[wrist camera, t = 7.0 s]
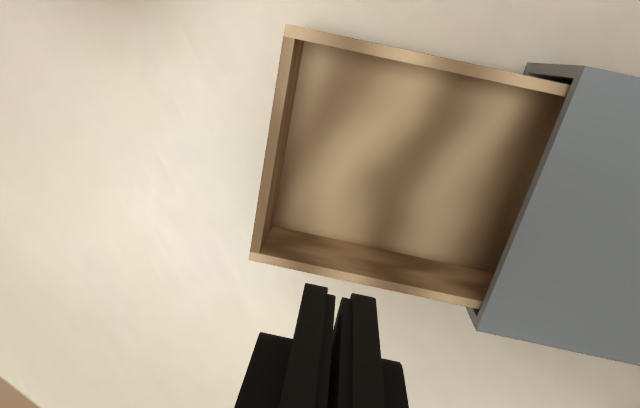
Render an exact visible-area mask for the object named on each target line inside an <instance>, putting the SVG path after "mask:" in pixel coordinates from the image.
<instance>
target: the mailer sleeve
mask: <svg viewBox="0 0 640 408" xmlns="http://www.w3.org/2000/svg"><path fill="white" fill-rule="evenodd" d="M523 75H526V76H530V77H535V78H540V79H544V80H549V81H554V82H558V83H563V84H568V85H571V87H570V89H569V92H568V94H567V96H566V99H565V101H564V104H563V106H562V109H561V111H560V114H559V116H558V119H557V121H556V123H555V126H554V128H553V131H552V133H551V136H550V138H549V141H548V143H547V146H546V148H545V151H544V153H543V155H542V158H541V160H540V163H539V165H538V168H537V170H536V173H535V175H534V178H533V180H532V183H531V185H530V187H529V190H528V192H527V195H526V197H525V200H524V202H523V205H522V207H521V210H520V212H519V214H518V217H517V219H516V222H515V224H514V227H513V229H512V232H511V234H510V237H509V239H508V242H507V244H506V246H505V249H504V251H503V254H502V256H501V259H500V261H499V264H498V266H497V269H496V271H495V273H494V276H493V278H492V281H491V283H490V286H489V288H488V291H487V293H486V296H485V298H484V301H483V303H482V305H481V308H480V309H475V308H471V307H466V309H467V311H468V313H469V315H470V318H471V320H472V322H473V324H474V327H475V329H476V331H480V332H485V333H489V334H494V335H499V336H503V337H508V338H513V339H517V340H522V341H527V342H531V343H536V344H541V345H545V346H550V347H555V348H559V349H564V350H568V351H573V352H578V353H582V354H587V355H592V356H596V357H601V358H606V359H610V360H615V361H620V362H624V363H629V364H634V365H638V366H640V78H639V77H634V76H629V75H625V74H620V73H615V72H611V71H606V70H601V69H597V68H592V67H588V66H576V65H558V64H541V63H527V66H526V69H525V72H524V74H523Z"/></svg>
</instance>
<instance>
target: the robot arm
mask: <svg viewBox="0 0 640 408" xmlns="http://www.w3.org/2000/svg"><path fill="white" fill-rule="evenodd" d="M327 291H328V288H327V287H322V286H317V285H313V284H308V283H305V287H304V292H303V296H302V301H301V305H300V310H299V315H298V319H297V324H296V328H295V333H294V338H293V339H290V338H285V337H281V336H276V335H272V334H267V333H262V332H260V334H259V336H258V339H257V342H256V345H255V348H254V351H253V354H252V357H251V360H250V363H249V366H248V369H247V372H246V375H245V378H244V380H243V383H242V386H241V389H240V392H239V395H238V398H237V401H236V404H235V407H234V408H409V406H408V399H407V393H406V386H405V380H404V374H403V368H402V365H401V363H400V362H396V361H391V360H387V359H382V358H381V352H380V341H379V330H378V319H377V308H376V299H375V298H373V297H368V296H364V295H359V294H354V293H352V294H351V297H350V299H348V298H343V297H342V299H341V302H340V306H339V310H338V314H337V318H336V322H335V326H334V329H333V323H334V310H335V296H334V295H330V294H327Z"/></svg>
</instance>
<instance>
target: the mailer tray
mask: <svg viewBox="0 0 640 408" xmlns="http://www.w3.org/2000/svg"><path fill="white" fill-rule="evenodd" d="M570 87H571V85H568V84H563V83H558V82H554V81H549V80H544V79H540V78H535V77H530V76H526V75H521V74H516V73H512V72H507V71H502V70H498V69H493V68H488V67H484V66H479V65H474V64H470V63H465V62H460V61H456V60H451V59H447V58H442V57H437V56H433V55H428V54H423V53H419V52H414V51H409V50H405V49H400V48H395V47H391V46H386V45H381V44H377V43H372V42H367V41H363V40H358V39H353V38H349V37H344V36H339V35H335V34H330V33H325V32H321V31H316V30H311V29H307V28H302V27H297V26H293V25H288V24H285V30H284V37H283V43H282V50H281V56H280V62H279V69H278V75H277V82H276V88H275V95H274V101H273V107H272V114H271V120H270V127H269V133H268V140H267V146H266V152H265V159H264V165H263V172H262V178H261V185H260V191H259V197H258V204H257V210H256V217H255V223H254V230H253V236H252V242H251V249H250V255H249V260H252V261H256V262H261V263H266V264H270V265H275V266H280V267H284V268H289V269H294V270H298V271H303V272H308V273H312V274H317V275H322V276H326V277H331V278H335V279H340V280H345V281H349V282H354V283H359V284H363V285H368V286H373V287H377V288H382V289H387V290H391V291H396V292H401V293H405V294H410V295H415V296H419V297H424V298H429V299H433V300H438V301H443V302H447V303H452V304H457V305H461V306H466V307H471V308H475V309H480V308H481V305H482V303H483V301H484V298H485V296H486V293H487V291H488V288H489V286H490V283H491V281H492V278H493V276H494V273H495V271H496V269H497V266H498V264H499V261H500V259H501V256H502V254H503V251H504V249H505V246H506V244H507V242H508V239H509V237H510V234H511V232H512V229H513V227H514V224H515V222H516V219H517V217H518V214H519V212H520V210H521V207H522V205H523V202H524V200H525V197H526V195H527V192H528V190H529V187H530V185H531V183H532V180H533V178H534V175H535V173H536V170H537V168H538V165H539V163H540V160H541V158H542V155H543V153H544V151H545V148H546V146H547V143H548V141H549V138H550V136H551V133H552V131H553V128H554V126H555V123H556V121H557V119H558V116H559V114H560V111H561V109H562V106H563V104H564V101H565V99H566V96H567V94H568V92H569V89H570Z"/></svg>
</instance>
